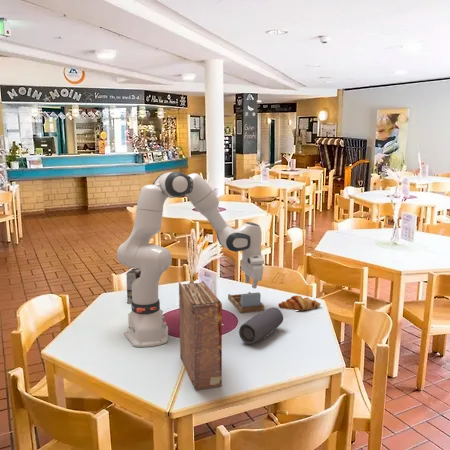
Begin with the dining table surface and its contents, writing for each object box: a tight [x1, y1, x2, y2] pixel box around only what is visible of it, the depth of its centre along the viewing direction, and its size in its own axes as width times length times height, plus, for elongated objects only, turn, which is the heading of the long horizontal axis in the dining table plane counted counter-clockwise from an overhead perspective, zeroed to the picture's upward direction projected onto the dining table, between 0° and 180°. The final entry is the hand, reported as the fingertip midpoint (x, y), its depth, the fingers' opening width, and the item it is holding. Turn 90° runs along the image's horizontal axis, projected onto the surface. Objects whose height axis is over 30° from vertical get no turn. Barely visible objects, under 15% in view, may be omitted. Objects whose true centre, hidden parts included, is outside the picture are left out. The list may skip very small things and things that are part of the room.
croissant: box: [278, 295, 321, 311], centre depth 229 cm, size 21×10×8 cm, turn 99°
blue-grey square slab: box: [241, 291, 262, 307], centre depth 224 cm, size 2×9×8 cm, turn 107°
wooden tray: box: [227, 292, 265, 314], centre depth 231 cm, size 20×12×4 cm, turn 17°
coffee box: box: [125, 268, 141, 304], centre depth 238 cm, size 9×6×16 cm
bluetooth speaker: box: [238, 306, 284, 345], centre depth 196 cm, size 23×9×10 cm, turn 145°
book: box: [178, 280, 223, 391], centre depth 166 cm, size 25×9×30 cm, turn 17°
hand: (250, 285), depth 221 cm, fingers open, 8 cm apart
